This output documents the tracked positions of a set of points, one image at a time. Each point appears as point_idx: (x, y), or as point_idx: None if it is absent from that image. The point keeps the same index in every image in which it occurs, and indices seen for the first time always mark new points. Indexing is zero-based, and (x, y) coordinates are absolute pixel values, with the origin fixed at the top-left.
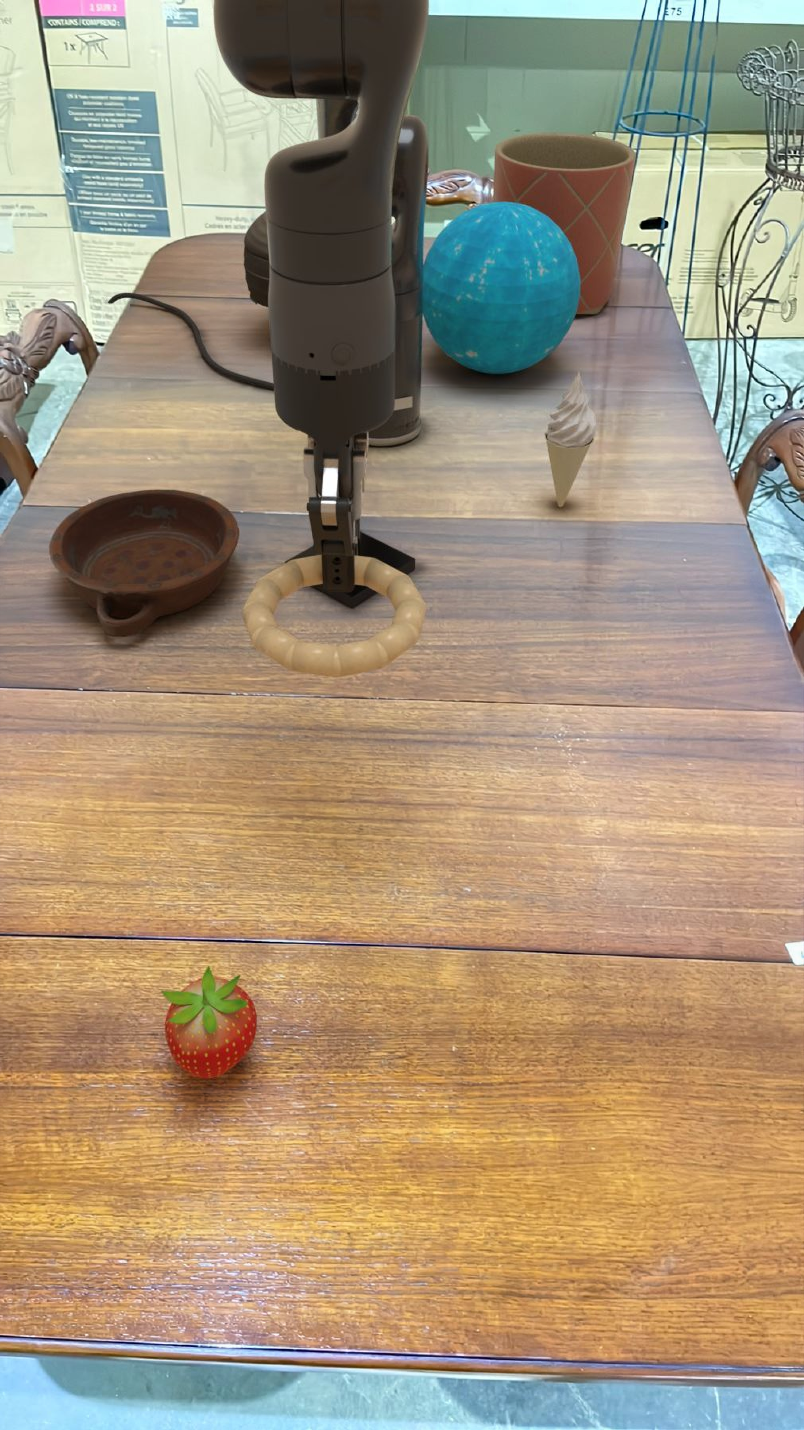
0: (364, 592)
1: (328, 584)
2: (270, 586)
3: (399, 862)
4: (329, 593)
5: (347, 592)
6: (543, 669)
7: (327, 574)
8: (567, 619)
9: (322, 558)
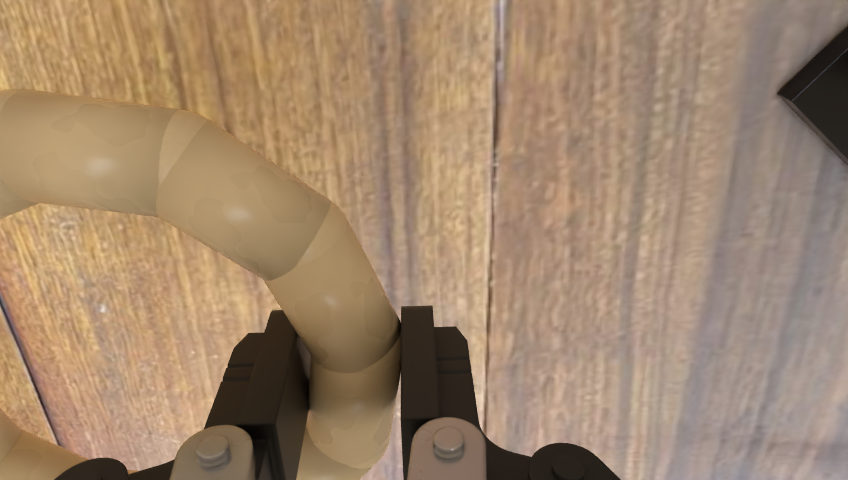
0: (810, 122)
1: (233, 351)
2: (118, 201)
3: (123, 224)
4: (836, 42)
5: (813, 89)
6: (564, 390)
7: (225, 375)
8: (682, 418)
9: (249, 387)
